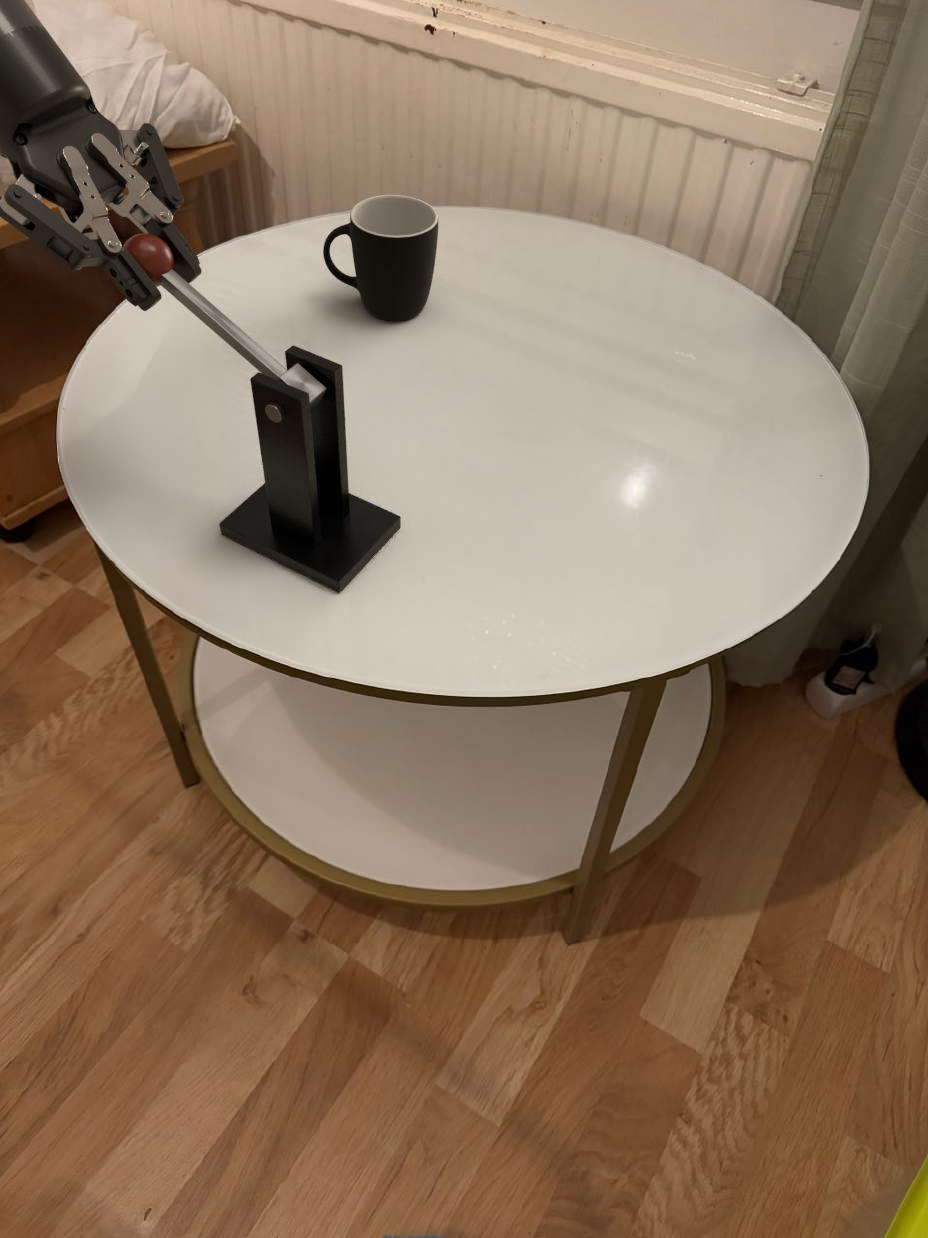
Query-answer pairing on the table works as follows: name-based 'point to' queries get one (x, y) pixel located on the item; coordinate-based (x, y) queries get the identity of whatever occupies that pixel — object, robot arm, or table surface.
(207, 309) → the lever
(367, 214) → the mug
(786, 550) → the table surface
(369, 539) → the bracket
